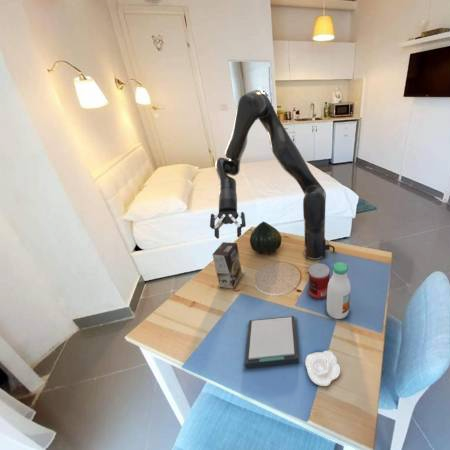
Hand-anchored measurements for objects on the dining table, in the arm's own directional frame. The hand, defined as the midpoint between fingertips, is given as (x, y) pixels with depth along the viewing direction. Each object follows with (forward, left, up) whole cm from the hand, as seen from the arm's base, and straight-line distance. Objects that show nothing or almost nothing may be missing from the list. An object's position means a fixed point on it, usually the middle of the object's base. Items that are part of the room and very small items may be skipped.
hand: (228, 237), depth 103 cm
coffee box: (0, +8, -16) cm, 18 cm away
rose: (-31, +49, -16) cm, 60 cm away
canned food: (-35, +19, -16) cm, 43 cm away
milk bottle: (-40, +29, -16) cm, 52 cm away
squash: (-14, -13, -16) cm, 25 cm away
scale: (-17, +39, -16) cm, 45 cm away
